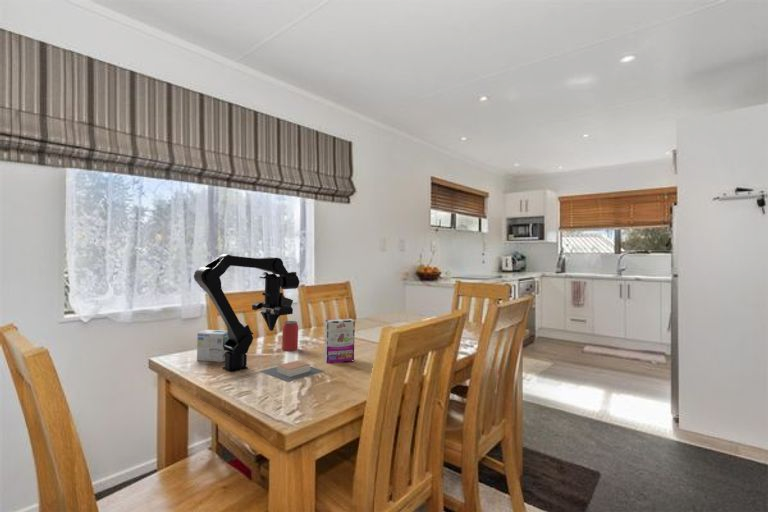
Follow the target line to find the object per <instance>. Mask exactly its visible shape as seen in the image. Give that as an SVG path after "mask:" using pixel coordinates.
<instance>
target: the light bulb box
mask: <svg viewBox="0 0 768 512" xmlns="http://www.w3.org/2000/svg"><path fill="white" fill-rule="evenodd" d="M196 335H197V337H196V338H197V340H196V341H197V343H196V347H197V349H196V361H202V362H218V363H219V362H220V363H223V362H225V352H228V351H225V350H224V348H223V344H224V343H225V342H226V341H227V340H228V339H229V336H228V331H227V330H222V329H221V330H218V329H217V330H216V329H215V330H213V329H204V330H201V331H198V332H197V334H196Z"/></svg>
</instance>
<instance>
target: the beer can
mask: <svg viewBox="0 0 768 512" xmlns="http://www.w3.org/2000/svg"><path fill="white" fill-rule="evenodd" d="M281 334H282V337H281V338H282V339H281V349H282V350H283V351H284V352H293V351H297V350H298V346H299V345H298V344H299V342H298V341H299V325H298V322H297V321H296V320H288V321H283V325H282V333H281Z"/></svg>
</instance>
